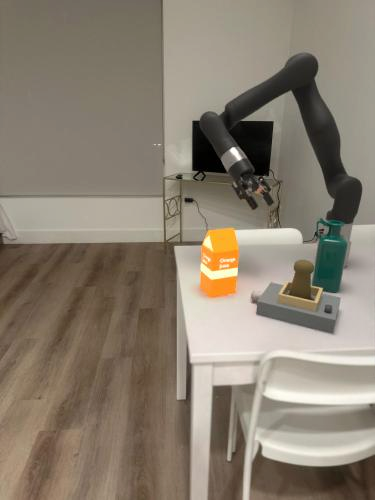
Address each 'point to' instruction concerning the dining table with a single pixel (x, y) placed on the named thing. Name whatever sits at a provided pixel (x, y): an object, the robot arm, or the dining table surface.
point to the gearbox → (298, 307)
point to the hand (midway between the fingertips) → (264, 206)
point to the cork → (302, 279)
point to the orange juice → (219, 263)
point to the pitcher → (329, 257)
